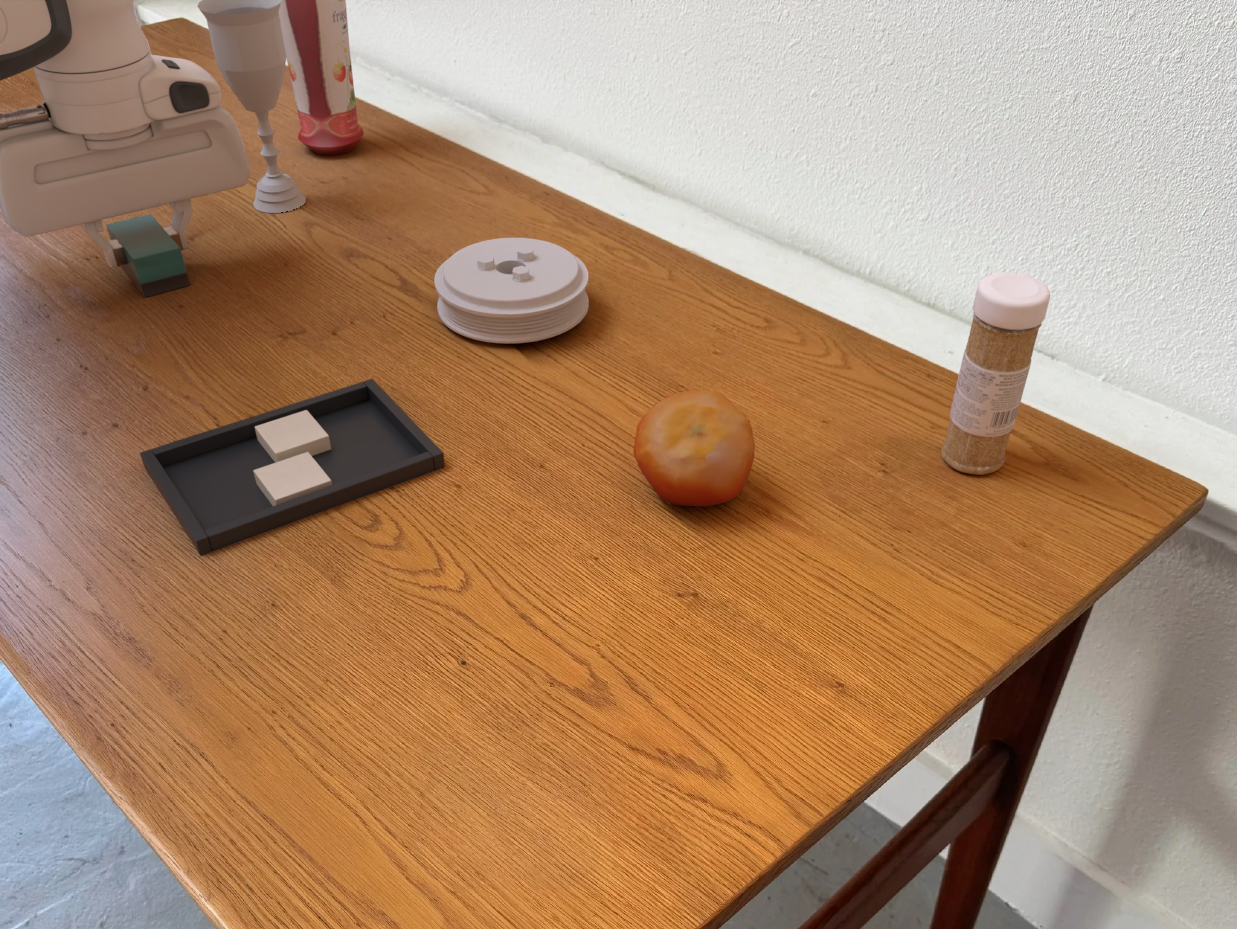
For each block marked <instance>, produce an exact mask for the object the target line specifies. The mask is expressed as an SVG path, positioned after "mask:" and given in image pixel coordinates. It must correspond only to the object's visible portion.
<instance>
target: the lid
mask: <svg viewBox="0 0 1237 929" xmlns="http://www.w3.org/2000/svg"><path fill="white" fill-rule="evenodd" d="M433 280H434V281H433V282H434V288H435V291H436V293H437V295H438V296H439V297H438V299H437V303H436V304H437V305H436V309H437V310H436V311H437V314H438V315H437V316H438V317H439V319H440V321H441V322H442V323H443V325H445V326H446V327H447V328H449V329H450V330H451V331H453V332H455V333H457V334H459V335H461V336H464V337H466V338H468V339H472V340H476V341H481V342H485V343H492V344H493V343H494V344H525V343H531V342H532V343H533V342H539V341H542V340H546V339H550V338H553V337H556V336H559V335H561V334H563V333H566V332H568V331H569V330H571V329H573V328H575V327H576V326H577V325H579V324H580V323H581V322H582V321H583V320H584V318H585V317H586V315H587V313H588V311H589V307H590V304H589V303H590V300H589V296H588V293H587V292H586V289H587V287H588V284H589V270H588V269H587V266H586V265H585V263H584V261H583V260H581V259H580V258H578V257H577V256H576V255H574V254H573V253H571V252H570V251H569V250H567V249H566V248H564V247H562V246H560V245H558V244H556V243H553V242H549V241H546V240H542V239H537V238H529V237H499V238H494V239H485V240H483V241H478V242H475V243H472V244H470V245H467V246H465V247H463V248H460V249H459V250H458V251H455V252H454V253H453V254H452V255H451V256H450V257H449V258H447V259H446V260H445V261H444V262H442V263H441V265H440V266H438V268H437V270H436V272H435V275H434V278H433Z"/></svg>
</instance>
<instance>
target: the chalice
mask: <svg viewBox="0 0 1237 929" xmlns="http://www.w3.org/2000/svg"><path fill="white" fill-rule="evenodd" d="M281 1H282V0H201V1H199V2H198V3H197V6H196V7H197V9H199V11H200V12H201V14H202V15H203V17H204V18H205V20H206V23H207V27H208V28H207V29H208V32H209V37H210V42H211V47H212V51H213V55H214V60H215V63H216V66H217V68H218V70H219V71H220V74H221V75H222V78H223V79H224V80H225V83H226V84H227V86H228V87H229V88H230V90H231V91H232V92H233V94H234V95H235V96H236V98H237V99H238V101H239V103H240V104H241V105H242V106H243V108H244V109H245V110H246V111H248V112H251V113H254V114H255V116H256V119H257V120H258V129H257V132H256V135H258V137H259V138H260V140H261V142H262V150H261V151H260V153H259V155H260V156H261V157H263V158H264V160H265V162H266V168H267V170H266V173H265V174H264V175H263V176H261V177H260V179H259V180H258V182H257V183H256V190H255V192H254V196H255V198H254V199H253V204H252V206H253V208H254V210H257V211H258V212H261V213H265V214H282V213H281V212H283V213H287V212H286V211H288V212H292V211H294V210H293V209H295V210H297V209H299V208H301V207H303V206H304V204H306V203H307V202H306V201H307V198H306V197H305V195H304V194H303V193H302V192H301V189H300V187H299V186H298V185H297V184H296V180H295V179H294V178H293V177H291V175H289V174H287V173H283V171H282V170H280V167H279V165H278V155H279V154H280V150H279V149H278V148H277V147H276V146H275V144H274V142H273V141H274V134H275V132H276V131H275V130H274V129H273V127H272V126H271V123H270V120H269V111H271V110H273V109H275V108H276V107H277V104H278V100H279V97H280V93H281V89H282V85H283V81H284V77H285V71H286V63H287V59H286V52H285V47H284V41H283V35H282V30H281V24H280V19H279V13H278V12H279V8H280V4H281ZM302 205H303V206H302ZM300 206H301V207H300ZM296 208H297V209H296Z"/></svg>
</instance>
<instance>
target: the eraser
mask: <svg viewBox="0 0 1237 929" xmlns="http://www.w3.org/2000/svg"><path fill="white" fill-rule="evenodd" d="M105 226H106V229H107V233H108V237H109V239H110V240H114V239H117V240H118V241H119V243H120V244H121V245H122V246H123V249H124V252H125V257H126V259H127V263H128V264H126V265H122V266H120V267H121V269H123V271H124V273H126V275H127V276H128V278H129V279H130V280H131V282H132V283H133V284H134V285H135V286H136V288H137V290H139V292H140V293H141V295H142V296H143V297H144V298H147V297H148V298H149V297H151V296H155V295H160V294H163V293H166V292H171V291H174V290H178V289H181V288H185V287H189V286H191V283H190V280H189V275H188V272H187V268H186V264H185V261H184V257H183V253H182V251H181V249H180V247H179V246H178V245H177V244H176V243H175V241H174V240H173V239H172V238H171V237H170V236H169V234H168V233H167V232H166V231H165V230H164V229H163V228H164V227H163V226H162V225H161V224H160V223H159V221H157V219H156V218H155V217H154V216H153V215H152V214H151V213H149V214H145V215H141V216H140V215H139V216H136V217H133V218H132V217H131V218H128V219H124V220H120V221H115V222H112V223H107V224H105ZM110 240H109V241H110Z"/></svg>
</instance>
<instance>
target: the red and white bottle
mask: <svg viewBox="0 0 1237 929" xmlns="http://www.w3.org/2000/svg"><path fill="white" fill-rule="evenodd" d="M346 1H347V0H282V1H281V4H280V8H279V12H278V13H279V19H280V24H281V30H282V35H283V41H284V47H285V52H286V63H287V68H288V74H289V77H290V81H291V87H292V92H293V96H294V100H295V106H296V110H297V116H298V121H299V126H300V130H299V132H298V134H297V139H298V141H299V142H300V143H302V144H303V145H304V146H306V147H307V148H309V149H310V150H312V151H313V152H314V153H316V154H319V155H325V156H334V155H342V154H345V153H348V152H350V151H352V150H353V149H354V148H355V147H356V145H357V144H358V143H359V141H360V140H361V139H362V138H363V136H364V134H365V130H364V129H363V128H362V126H361V125H360V124H359V118H358V117H359V116H358V110H357V101H356V94H355V85H354V76H353V68H352V58H351V57H352V56H351V51H350V49H351V47H350V37H349V25H348V11H347V2H346Z"/></svg>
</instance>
